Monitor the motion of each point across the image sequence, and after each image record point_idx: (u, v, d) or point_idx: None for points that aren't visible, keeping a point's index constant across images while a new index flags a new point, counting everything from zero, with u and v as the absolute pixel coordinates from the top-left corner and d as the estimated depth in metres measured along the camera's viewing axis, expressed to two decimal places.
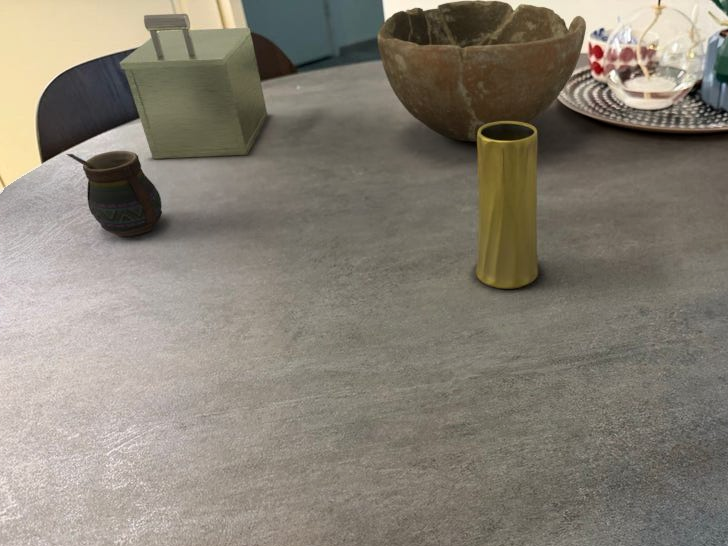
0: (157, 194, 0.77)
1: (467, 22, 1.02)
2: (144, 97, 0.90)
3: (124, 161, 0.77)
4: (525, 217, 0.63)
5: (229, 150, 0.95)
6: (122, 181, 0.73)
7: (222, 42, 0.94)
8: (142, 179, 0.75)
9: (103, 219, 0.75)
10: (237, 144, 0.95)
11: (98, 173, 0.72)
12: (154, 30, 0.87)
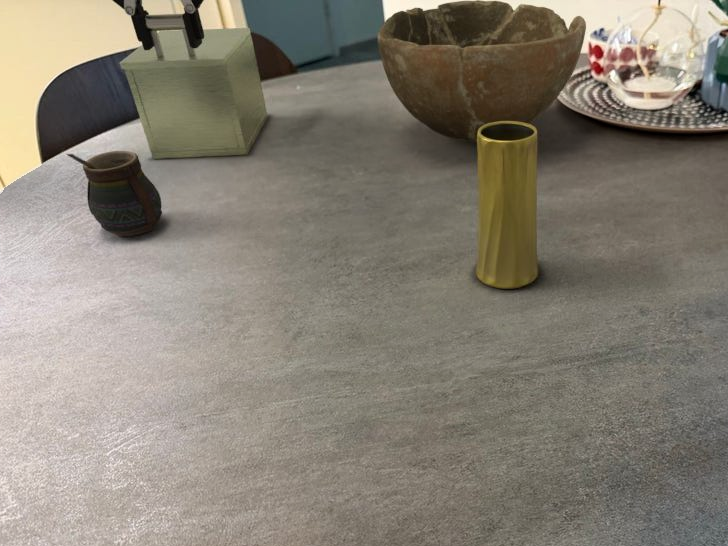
0: (157, 194, 0.77)
1: (467, 22, 1.02)
2: (144, 97, 0.90)
3: (124, 161, 0.77)
4: (525, 217, 0.63)
5: (229, 150, 0.95)
6: (122, 181, 0.73)
7: (222, 42, 0.94)
8: (142, 179, 0.75)
9: (103, 219, 0.75)
10: (237, 144, 0.95)
11: (98, 173, 0.72)
12: (154, 30, 0.87)
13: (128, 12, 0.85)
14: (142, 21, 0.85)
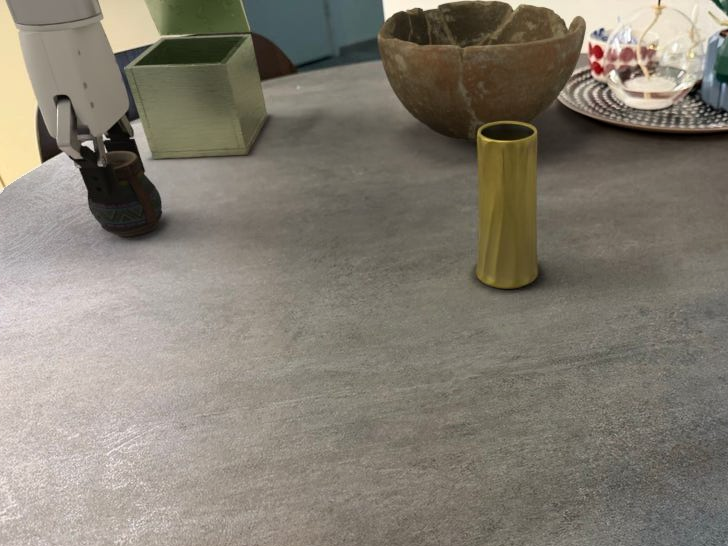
0: (157, 194, 0.77)
1: (467, 22, 1.02)
2: (144, 97, 0.90)
3: (124, 161, 0.77)
4: (525, 217, 0.63)
5: (229, 150, 0.95)
6: (122, 181, 0.73)
7: None
8: (143, 179, 0.75)
9: (103, 219, 0.75)
10: (237, 144, 0.95)
11: None
12: None
13: None
14: (108, 148, 0.76)
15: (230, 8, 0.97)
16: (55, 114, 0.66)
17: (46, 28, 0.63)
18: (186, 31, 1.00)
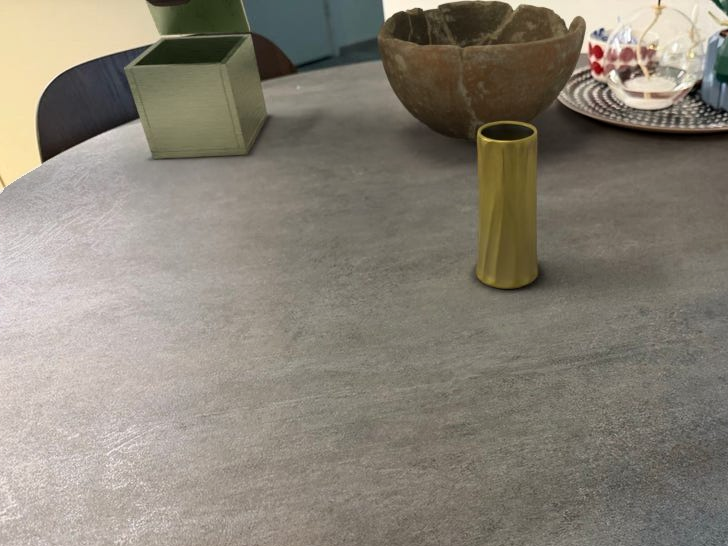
0: None
1: (467, 22, 1.02)
2: (144, 97, 0.90)
3: None
4: (525, 217, 0.63)
5: (229, 150, 0.95)
6: None
7: None
8: None
9: None
10: (237, 144, 0.95)
11: None
12: None
13: None
14: None
15: (230, 7, 0.97)
16: None
17: None
18: (186, 31, 1.00)
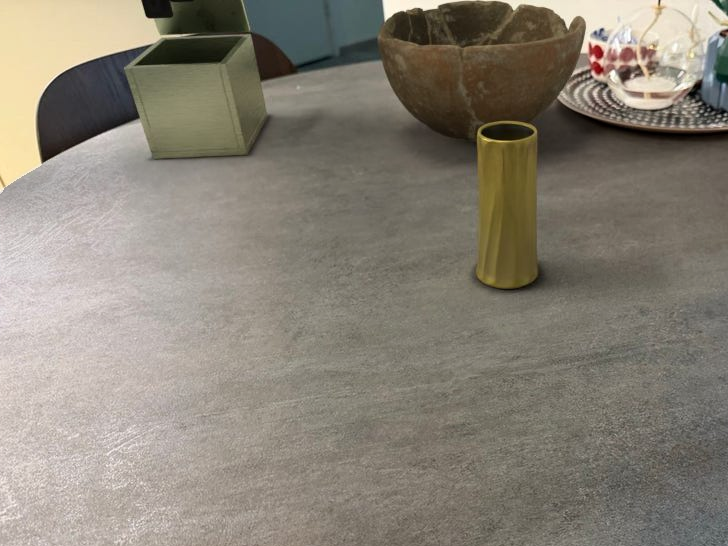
0: None
1: (467, 22, 1.02)
2: (144, 97, 0.90)
3: None
4: (525, 217, 0.63)
5: (229, 150, 0.95)
6: None
7: None
8: None
9: None
10: (237, 144, 0.95)
11: None
12: None
13: None
14: None
15: (230, 5, 0.97)
16: None
17: None
18: (186, 30, 1.00)
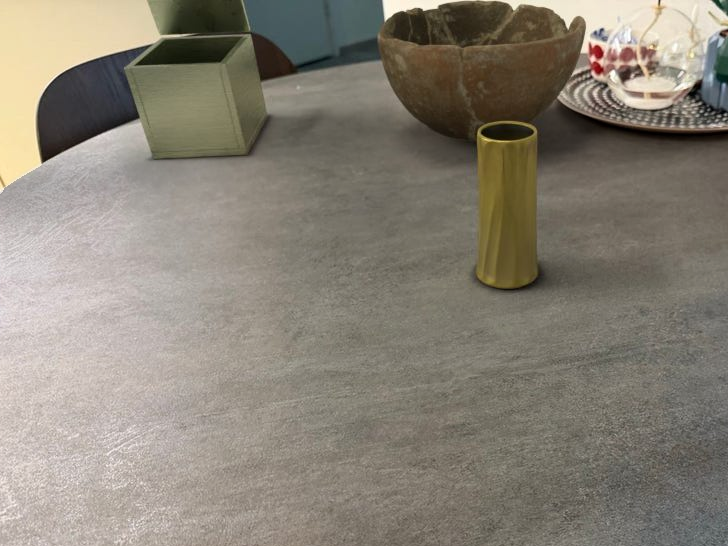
0: None
1: (467, 22, 1.02)
2: (144, 97, 0.90)
3: None
4: (525, 217, 0.63)
5: (229, 150, 0.95)
6: None
7: None
8: None
9: None
10: (237, 144, 0.95)
11: None
12: None
13: None
14: None
15: (230, 5, 0.97)
16: None
17: None
18: (186, 30, 1.00)
